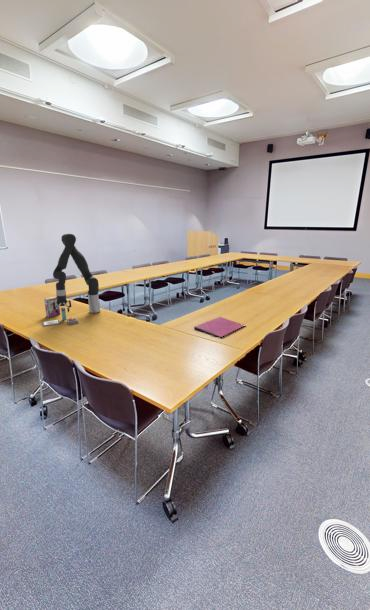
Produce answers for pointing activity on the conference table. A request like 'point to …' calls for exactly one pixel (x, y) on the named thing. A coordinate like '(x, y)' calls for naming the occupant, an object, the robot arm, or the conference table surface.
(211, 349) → the conference table surface
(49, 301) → the candy bar box
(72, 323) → the button housing
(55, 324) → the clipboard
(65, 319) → the marker
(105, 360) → the conference table surface
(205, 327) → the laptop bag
